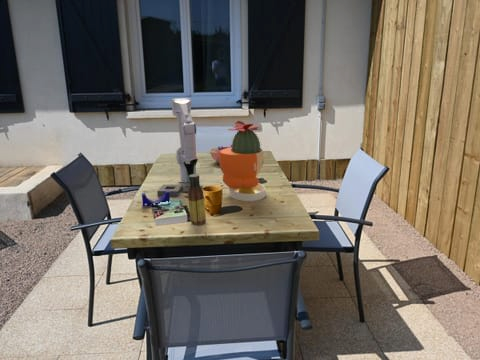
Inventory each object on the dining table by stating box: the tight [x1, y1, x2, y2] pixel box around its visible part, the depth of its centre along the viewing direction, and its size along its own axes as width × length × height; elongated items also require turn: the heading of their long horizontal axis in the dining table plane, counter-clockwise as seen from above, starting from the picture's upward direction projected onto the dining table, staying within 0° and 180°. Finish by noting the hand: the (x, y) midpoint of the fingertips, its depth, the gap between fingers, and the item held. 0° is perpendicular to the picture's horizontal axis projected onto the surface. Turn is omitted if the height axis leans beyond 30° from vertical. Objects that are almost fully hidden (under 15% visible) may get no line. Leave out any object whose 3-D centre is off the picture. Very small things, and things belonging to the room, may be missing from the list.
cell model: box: [208, 144, 232, 164], centre depth 258 cm, size 17×20×11 cm
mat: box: [181, 185, 204, 194], centre depth 207 cm, size 9×9×1 cm
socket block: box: [156, 184, 184, 197], centre depth 203 cm, size 11×10×2 cm
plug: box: [186, 164, 197, 183], centre depth 205 cm, size 4×4×8 cm
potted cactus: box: [219, 120, 266, 202], centre depth 193 cm, size 22×22×35 cm
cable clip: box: [141, 190, 171, 208], centre depth 187 cm, size 12×4×6 cm, turn 108°
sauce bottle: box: [187, 173, 207, 226], centre depth 162 cm, size 7×6×20 cm
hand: (191, 174), depth 205 cm, fingers closed on plug, 4 cm apart
